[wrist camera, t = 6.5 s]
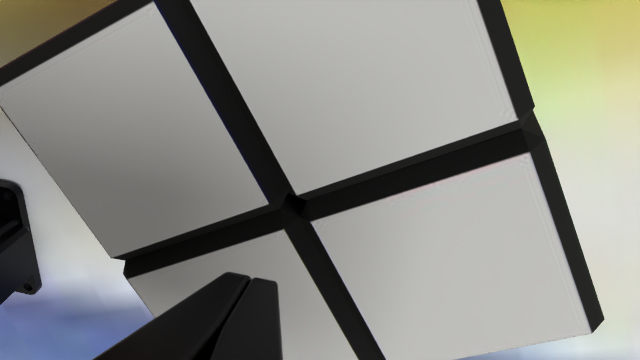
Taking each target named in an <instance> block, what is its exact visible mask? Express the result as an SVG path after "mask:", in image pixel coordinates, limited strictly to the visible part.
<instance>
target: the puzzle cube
mask: <svg viewBox="0 0 640 360" xmlns="http://www.w3.org/2000/svg"><path fill="white" fill-rule="evenodd" d="M0 107H1V109H2V110H3V111H4V113H5V114H6V116H7V117H8V118H9V120H10V121H11V122H12V124H13V125H14V126H15V128H16V129H17V131H18V132H19V133H20V135H21V136H22V137H23V139H24V140H25V141H26V143H27V144H28V146H29V147H30V148H31V150H32V151H33V152H34V154H35V155H36V156H37V158H38V159H39V161H40V162H41V163H42V165H43V166H44V167H45V169H46V170H47V171H48V173H49V174H50V176H51V177H52V178H53V180H54V181H55V182H56V184H57V185H58V186H59V188H60V189H61V191H62V192H63V193H64V195H65V196H66V197H67V199H68V200H69V201H70V203H71V204H72V206H73V207H74V208H75V210H76V211H77V212H78V214H79V215H80V216H81V218H82V219H83V221H84V222H85V223H86V225H87V226H88V227H89V229H90V230H91V231H92V233H93V234H94V236H95V237H96V238H97V240H98V241H99V242H100V244H101V245H102V246H103V248H104V249H105V251H106V252H107V253H108V255H109V256H110V257H111V258H114V259H120V260H126V261H125V266H124V272H123V274H124V276H125V278H126V279H127V281H128V282H129V283H130V285H131V286H132V287H133V289H134V290H135V291H136V293H137V294H138V296H139V297H140V298H141V300H142V301H143V302H144V304H145V305H146V306H147V308H148V309H149V311H150V312H151V313H152V315H153V316H154V317H155V318H156V317H158V316H159V315H161V314H162V313H164V312H165V311H167V310H168V309H170V308H171V307H173V306H175V305H176V304H178V303H179V302H181V301H182V300H184V299H185V298H187V297H188V296H190V295H191V294H193V293H194V292H196V291H197V290H199V289H200V288H202V287H203V286H205V285H207V284H208V283H210V282H211V281H213V280H214V279H216V278H217V277H219V276H220V275H222V274H223V273H225V272H234V273H239V274H244V275H248V276H250V277H251V279H253V278H255V277H258V278H263V279H268V280H272V281H276V282H277V284H278V293H279V307H280V321H281V336H282V350H283V360H454V359H460V358H465V357H470V356H475V355H481V354H486V353H491V352H497V351H502V350H507V349H513V348H518V347H523V346H528V345H534V344H539V343H544V342H550V341H555V340H560V339H566V338H571V337H576V336H581V335H587V334H592V333H593V332H594V331H595V330H596V328H597V327H598V326H599V325H600V324H601V323H602V322H603V320H604V316H603V313H602V310H601V307H600V304H599V301H598V298H597V295H596V291H595V288H594V285H593V282H592V279H591V276H590V273H589V270H588V267H587V264H586V261H585V258H584V255H583V252H582V249H581V246H580V243H579V239H578V236H577V233H576V230H575V227H574V224H573V221H572V218H571V215H570V212H569V209H568V206H567V203H566V200H565V197H564V194H563V191H562V188H561V184H560V181H559V178H558V175H557V172H556V169H555V166H554V163H553V160H552V157H551V154H550V151H549V148H548V145H547V142H546V139H545V136H544V134H543V132H542V130H541V128H540V125H539V123H538V121H537V119H536V117H535V114H534V112H533V109H534V107H535V105H534V102H533V99H532V96H531V93H530V90H529V87H528V84H527V81H526V78H525V75H524V72H523V68H522V65H521V62H520V59H519V56H518V53H517V50H516V47H515V44H514V41H513V38H512V35H511V32H510V29H509V26H508V23H507V20H506V17H505V13H504V10H503V7H502V4H501V1H500V0H117V1H115V2H113V3H112V4H110V5H108V6H106V7H105V8H103V9H101V10H99V11H98V12H96V13H94V14H93V15H91V16H89V17H87V18H86V19H84V20H82V21H80V22H79V23H77V24H75V25H73V26H72V27H70V28H68V29H67V30H65V31H63V32H61V33H60V34H58V35H56V36H54V37H53V38H51V39H49V40H47V41H46V42H44V43H42V44H41V45H39V46H37V47H35V48H34V49H32V50H30V51H28V52H27V53H25V54H23V55H21V56H20V57H18V58H16V59H15V60H13V61H11V62H9V63H8V64H6V65H4V66H2V67H1V68H0Z"/></svg>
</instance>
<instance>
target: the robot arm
mask: <svg viewBox="0 0 640 360" xmlns="http://www.w3.org/2000/svg"><path fill="white" fill-rule="evenodd" d="M10 194H11V195H10ZM41 287H42V283H41V279H40V274H39V269H38V264H37V259H36V254H35V249H34V244H33V239H32V234H31V230H30V225H29V220H28V215H27V210H26V205H25V200H24V195H23V192H22V190H21V189H20V188H19V187H18V186H17V185H15V184H12V183H8V182H3V181H0V305H1V304H2V303H3V302H4V301H5V300H6V299H7V298H8V297H9V296H10V295H11V294H12V293H13V292H14V291H16V292H20V293H25V294H29V295H33V294H35V293H36V292H37V291H39V290H40V288H41ZM92 360H283V350H282V336H281V321H280V307H279V293H278V284H277V282H276V281H272V280H268V279H263V278H258V277H255V278H253V279H251V277H250V276H248V275H244V274H239V273H234V272H225V273H223V274H222V275H220V276H219V277H217V278H216V279H214V280H213V281H211V282H210V283H208V284H207V285H205V286H203V287H202V288H200V289H199V290H197V291H196V292H194V293H193V294H191V295H190V296H188V297H187V298H185V299H184V300H182V301H181V302H179V303H178V304H176V305H175V306H173V307H171V308H170V309H168V310H167V311H165V312H164V313H162V314H161V315H159V316H158V317H156V318H155V319H153V320H152V321H150V322H149V323H147V324H146V325H144V326H143V327H141V328H140V329H138V330H136V331H135V332H133V333H132V334H130V335H129V336H127V337H126V338H124V339H123V340H121V341H120V342H118V343H117V344H115V345H114V346H112V347H111V348H109V349H108V350H106V351H104V352H103V353H101V354H100V355H98V356H97V357H95V358H94V359H92Z"/></svg>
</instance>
